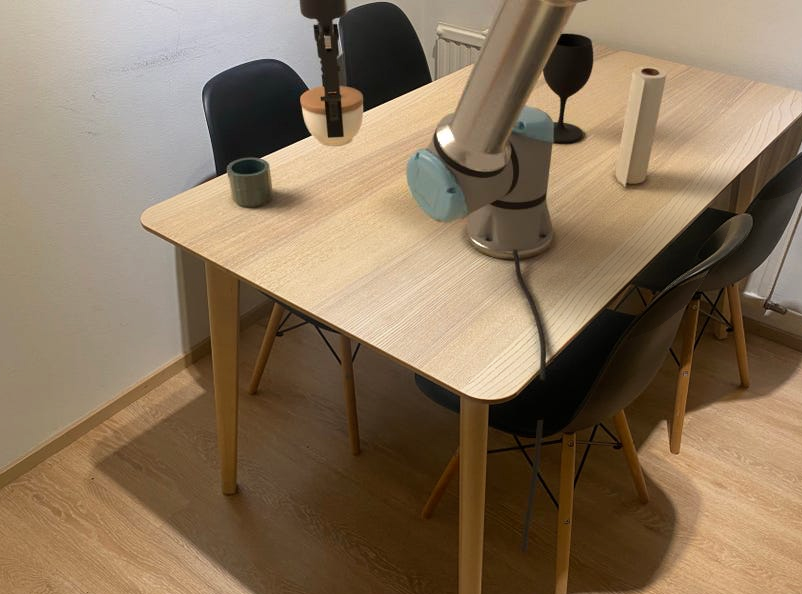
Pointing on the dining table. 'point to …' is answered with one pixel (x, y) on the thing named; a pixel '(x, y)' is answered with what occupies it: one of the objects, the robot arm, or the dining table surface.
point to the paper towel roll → (640, 124)
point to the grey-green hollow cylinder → (250, 182)
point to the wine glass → (568, 78)
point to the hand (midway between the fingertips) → (334, 123)
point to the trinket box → (317, 115)
